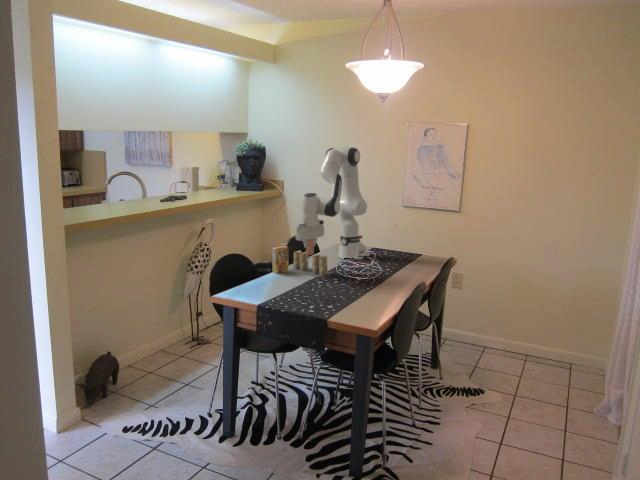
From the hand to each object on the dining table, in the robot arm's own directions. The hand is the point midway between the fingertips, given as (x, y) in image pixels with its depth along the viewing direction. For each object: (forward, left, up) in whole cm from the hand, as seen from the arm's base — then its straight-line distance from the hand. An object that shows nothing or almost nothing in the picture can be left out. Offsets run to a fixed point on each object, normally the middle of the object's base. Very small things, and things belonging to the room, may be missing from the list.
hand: (309, 246), depth 291 cm
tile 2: (0, -5, -15) cm, 15 cm away
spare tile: (0, 0, -5) cm, 5 cm away
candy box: (+12, -12, -16) cm, 23 cm away
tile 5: (0, +10, -15) cm, 18 cm away
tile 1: (0, -10, -15) cm, 18 cm away
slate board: (0, 0, -16) cm, 16 cm away
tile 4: (0, +5, -15) cm, 15 cm away
